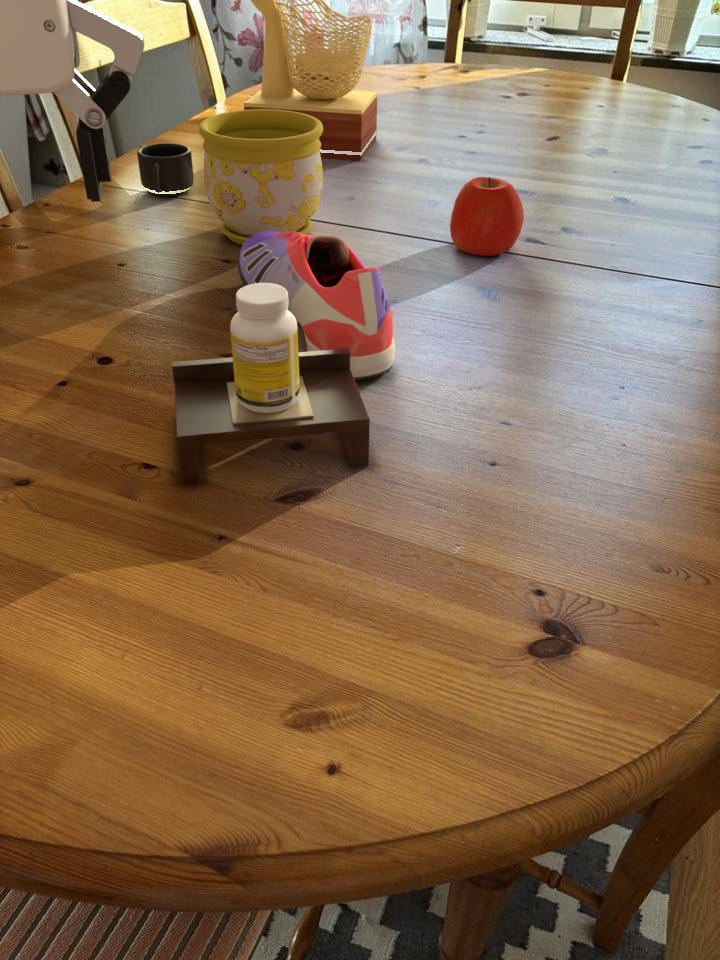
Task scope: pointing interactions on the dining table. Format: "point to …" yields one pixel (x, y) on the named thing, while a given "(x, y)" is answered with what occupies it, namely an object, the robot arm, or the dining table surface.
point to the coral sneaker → (326, 295)
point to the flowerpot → (262, 170)
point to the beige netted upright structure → (318, 75)
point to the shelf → (222, 419)
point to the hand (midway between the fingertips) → (10, 198)
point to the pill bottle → (265, 349)
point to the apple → (486, 217)
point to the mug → (166, 168)
